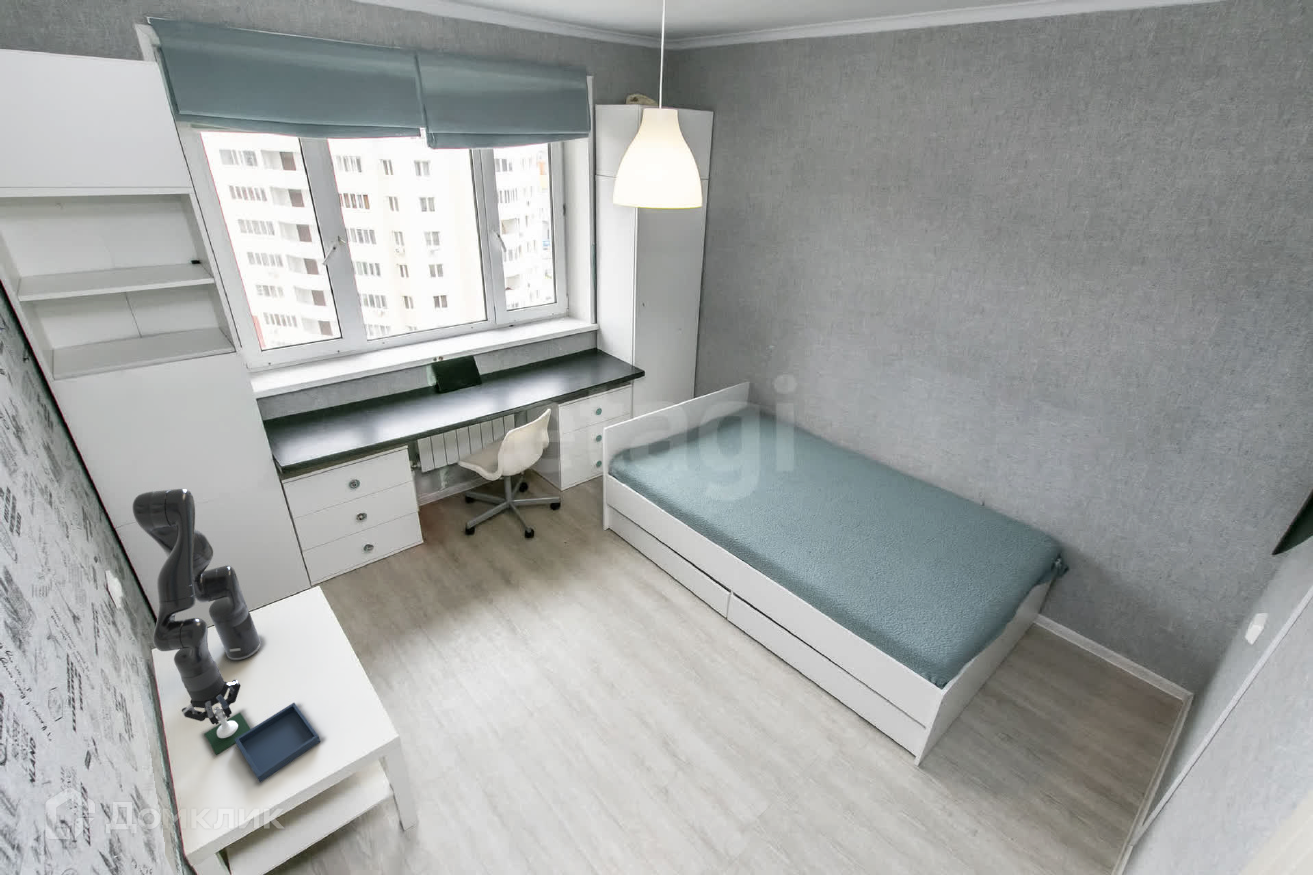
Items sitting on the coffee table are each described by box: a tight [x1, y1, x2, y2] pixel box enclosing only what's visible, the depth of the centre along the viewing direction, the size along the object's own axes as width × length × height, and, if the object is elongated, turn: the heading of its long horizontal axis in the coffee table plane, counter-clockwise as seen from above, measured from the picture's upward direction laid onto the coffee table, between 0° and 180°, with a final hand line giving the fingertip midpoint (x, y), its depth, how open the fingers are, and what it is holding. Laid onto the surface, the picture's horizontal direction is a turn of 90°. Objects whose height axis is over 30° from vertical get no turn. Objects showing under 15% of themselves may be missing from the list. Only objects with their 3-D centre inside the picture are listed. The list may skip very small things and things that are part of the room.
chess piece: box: [213, 706, 238, 738], centre depth 164 cm, size 5×5×10 cm
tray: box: [234, 702, 321, 783], centre depth 165 cm, size 16×16×2 cm
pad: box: [203, 712, 251, 756], centre depth 167 cm, size 9×9×1 cm
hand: (221, 718), depth 164 cm, fingers closed on chess piece
